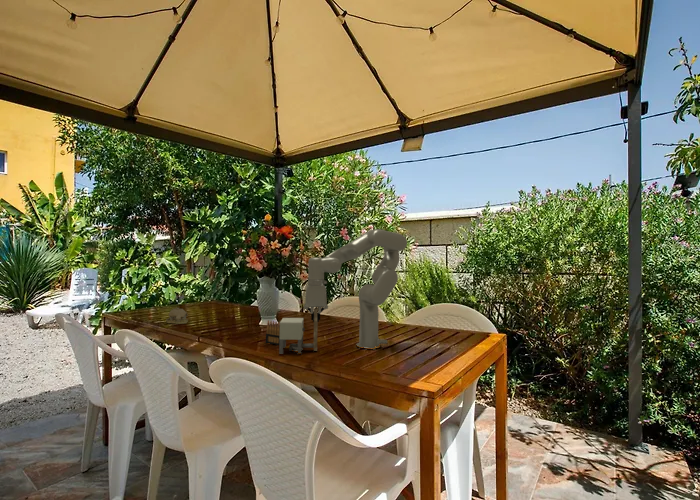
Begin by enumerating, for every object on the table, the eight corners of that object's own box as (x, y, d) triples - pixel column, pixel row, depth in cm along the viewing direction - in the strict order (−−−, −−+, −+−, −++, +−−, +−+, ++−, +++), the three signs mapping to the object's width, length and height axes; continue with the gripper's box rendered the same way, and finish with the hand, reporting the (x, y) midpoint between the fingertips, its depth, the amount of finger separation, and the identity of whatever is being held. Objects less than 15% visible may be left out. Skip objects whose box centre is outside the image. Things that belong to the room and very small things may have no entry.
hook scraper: (317, 349, 184) (317, 308, 184) (316, 351, 179) (317, 309, 179) (290, 349, 183) (290, 308, 183) (289, 352, 178) (289, 309, 178)
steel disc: (303, 350, 183) (303, 347, 183) (302, 352, 178) (302, 349, 178) (292, 350, 183) (292, 347, 183) (291, 352, 178) (291, 349, 178)
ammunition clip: (265, 343, 196) (265, 320, 196) (267, 342, 197) (268, 319, 198) (281, 346, 190) (281, 322, 190) (283, 345, 192) (284, 321, 192)
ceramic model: (191, 321, 256) (191, 306, 256) (183, 324, 245) (184, 309, 245) (170, 321, 256) (171, 306, 257) (162, 324, 245) (162, 308, 245)
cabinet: (304, 348, 187) (305, 318, 187) (303, 354, 174) (303, 322, 175) (282, 347, 187) (283, 317, 187) (279, 354, 174) (279, 322, 174)
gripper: (332, 282, 186) (331, 320, 186) (300, 282, 185) (299, 320, 185) (332, 283, 178) (332, 323, 178) (299, 283, 177) (298, 323, 177)
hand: (315, 321), depth 181 cm, fingers closed on hook scraper, 1 cm apart
